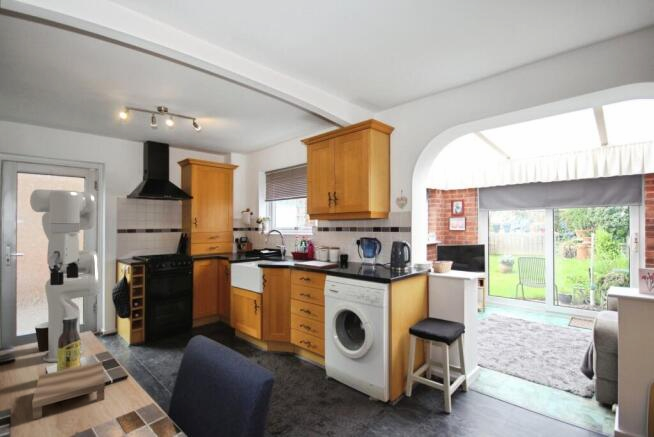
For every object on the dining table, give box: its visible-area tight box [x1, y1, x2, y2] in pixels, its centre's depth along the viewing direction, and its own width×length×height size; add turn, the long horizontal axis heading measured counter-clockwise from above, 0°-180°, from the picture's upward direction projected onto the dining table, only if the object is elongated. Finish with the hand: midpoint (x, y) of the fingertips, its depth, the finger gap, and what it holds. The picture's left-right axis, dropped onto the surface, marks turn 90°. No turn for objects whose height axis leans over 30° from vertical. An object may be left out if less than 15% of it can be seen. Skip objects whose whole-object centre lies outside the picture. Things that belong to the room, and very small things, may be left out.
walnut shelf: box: [31, 361, 106, 420], centre depth 97 cm, size 18×16×5 cm
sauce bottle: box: [56, 316, 82, 372], centre depth 109 cm, size 7×6×20 cm
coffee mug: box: [34, 321, 49, 353], centre depth 133 cm, size 12×9×10 cm
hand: (65, 281), depth 103 cm, fingers open, 9 cm apart
